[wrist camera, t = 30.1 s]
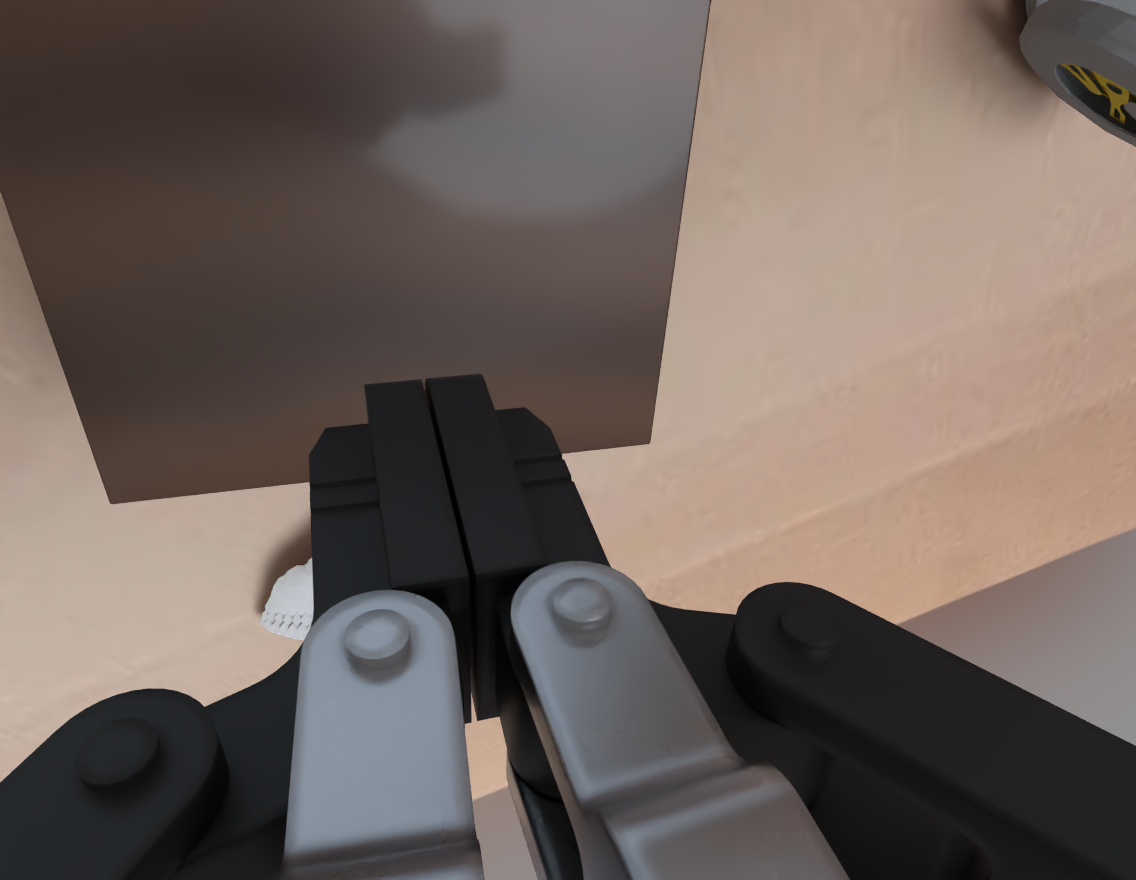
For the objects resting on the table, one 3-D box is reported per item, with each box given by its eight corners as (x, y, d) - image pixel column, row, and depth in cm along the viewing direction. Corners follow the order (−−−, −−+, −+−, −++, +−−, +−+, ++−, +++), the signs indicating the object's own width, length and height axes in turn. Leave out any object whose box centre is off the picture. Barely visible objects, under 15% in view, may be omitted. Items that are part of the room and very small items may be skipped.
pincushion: (308, 653, 34) (309, 776, 30) (214, 570, 30) (199, 697, 26) (564, 527, 33) (604, 633, 29) (502, 426, 29) (538, 531, 25)
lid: (641, 429, 24) (650, 444, 23) (115, 485, 21) (110, 505, 20) (755, -450, 14) (776, -465, 13) (-264, -629, 10) (-301, -661, 10)
